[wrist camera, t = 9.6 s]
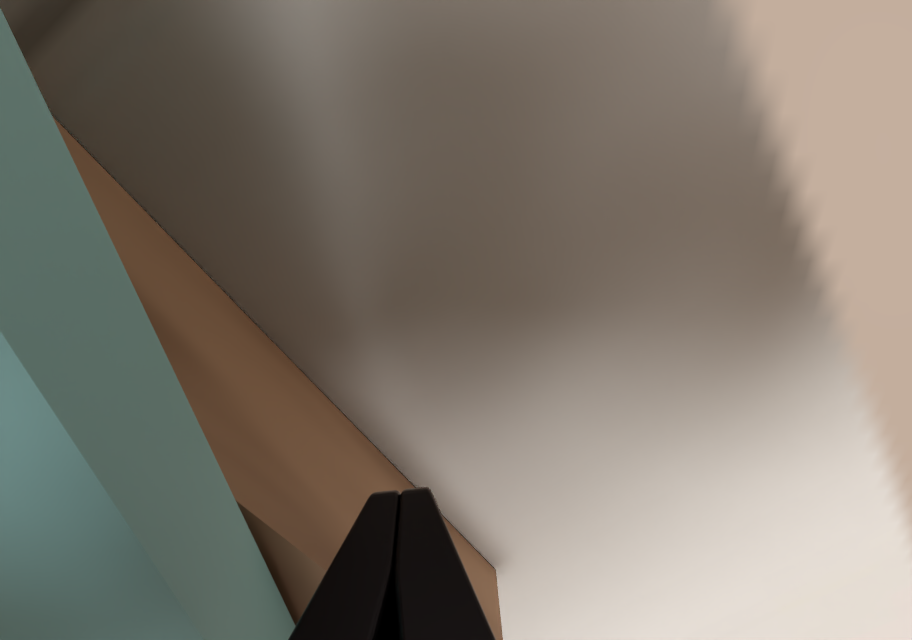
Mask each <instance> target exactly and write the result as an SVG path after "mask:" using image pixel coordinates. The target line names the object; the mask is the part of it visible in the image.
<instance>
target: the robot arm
mask: <svg viewBox="0 0 912 640" xmlns="http://www.w3.org/2000/svg"><path fill="white" fill-rule="evenodd" d="M288 640H496V638H495V636H494V634H493V631H492V629H491V627H490V625H489V622H488V620H487V618H486V615H485V613H484V611H483V608H482V606H481V604H480V602H479V599H478V597H477V595H476V592H475V590H474V588H473V586H472V583H471V581H470V579H469V576H468V574H467V572H466V569H465V567H464V565H463V563H462V560H461V558H460V556H459V553H458V551H457V549H456V546H455V544H454V542H453V540H452V537H451V535H450V533H449V530H448V528H447V526H446V524H445V521H444V519H443V517H442V514H441V512H440V510H439V507H438V505H437V503H436V501H435V498H434V496H433V494H432V492H431V490H430V489H429V488H427V487H421V488H410V489H405V490H403V491H402V493H400V491H398V490H390V491H380V492H374V493H372V494H371V495H370V496H369V498H368V499H367V501H366V503H365V504H364V506H363V508H362V510H361V512H360V513H359V515H358V517H357V519H356V520H355V522H354V524H353V526H352V527H351V529H350V531H349V533H348V535H347V536H346V538H345V540H344V542H343V543H342V545H341V547H340V549H339V550H338V552H337V554H336V556H335V557H334V559H333V561H332V563H331V565H330V566H329V568H328V570H327V572H326V573H325V575H324V577H323V579H322V580H321V582H320V584H319V586H318V588H317V589H316V591H315V593H314V595H313V596H312V598H311V600H310V602H309V603H308V605H307V607H306V609H305V610H304V612H303V614H302V616H301V618H300V619H299V621H298V623H297V625H296V626H295V628H294V630H293V632H292V633H291V635H290V637H289V639H288Z"/></svg>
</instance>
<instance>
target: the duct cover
mask: <svg viewBox="0 0 912 640" xmlns="http://www.w3.org/2000/svg"><path fill="white" fill-rule="evenodd" d="M294 628H295V624H294V622H293V620H292V618H291V615H290V613H289V611H288V609H287V607H286V605H285V603H284V601H283V599H282V597H281V594H280V592H279V590H278V588H277V586H276V584H275V582H274V580H273V578H272V576H271V574H270V571H269V569H268V567H267V565H266V563H265V561H264V559H263V557H262V555H261V553H260V551H259V548H258V546H257V544H256V542H255V540H254V538H253V536H252V534H251V532H250V530H249V527H248V525H247V523H246V521H245V519H244V517H243V515H242V513H241V511H240V509H239V507H238V504H237V502H236V500H235V498H234V496H233V494H232V492H231V490H230V488H229V486H228V483H227V481H226V479H225V477H224V475H223V473H222V471H221V469H220V467H219V465H218V463H217V460H216V458H215V456H214V454H213V452H212V450H211V448H210V446H209V444H208V442H207V439H206V437H205V435H204V433H203V431H202V429H201V427H200V425H199V423H198V421H197V419H196V416H195V414H194V412H193V410H192V408H191V406H190V404H189V402H188V400H187V398H186V395H185V393H184V391H183V389H182V387H181V385H180V383H179V381H178V379H177V377H176V375H175V372H174V370H173V368H172V366H171V364H170V362H169V360H168V358H167V356H166V354H165V352H164V349H163V347H162V345H161V343H160V341H159V339H158V337H157V335H156V333H155V331H154V328H153V326H152V324H151V322H150V320H149V318H148V316H147V314H146V312H145V310H144V308H143V305H142V303H141V301H140V299H139V297H138V295H137V293H136V291H135V289H134V287H133V284H132V282H131V280H130V278H129V276H128V274H127V272H126V270H125V268H124V266H123V264H122V261H121V259H120V257H119V255H118V253H117V251H116V249H115V247H114V245H113V243H112V240H111V238H110V236H109V234H108V232H107V230H106V228H105V226H104V224H103V222H102V220H101V217H100V215H99V213H98V211H97V209H96V207H95V205H94V203H93V201H92V199H91V196H90V194H89V192H88V190H87V188H86V186H85V184H84V182H83V180H82V178H81V176H80V173H79V171H78V169H77V167H76V165H75V163H74V161H73V159H72V157H71V155H70V153H69V150H68V148H67V146H66V144H65V142H64V140H63V138H62V136H61V134H60V132H59V129H58V127H57V125H56V123H55V121H54V119H53V117H52V115H51V113H50V111H49V109H48V106H47V104H46V102H45V100H44V98H43V96H42V94H41V92H40V90H39V88H38V85H37V83H36V81H35V79H34V77H33V75H32V73H31V71H30V69H29V67H28V65H27V62H26V60H25V58H24V56H23V54H22V52H21V50H20V48H19V46H18V44H17V41H16V39H15V37H14V35H13V33H12V31H11V29H10V27H9V25H8V23H7V21H6V18H5V16H4V14H3V12H2V10H1V8H0V640H288V639H289V637H290V635H291V633H292V632H293V630H294Z"/></svg>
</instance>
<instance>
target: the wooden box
mask: <svg viewBox="0 0 912 640" xmlns="http://www.w3.org/2000/svg"><path fill="white" fill-rule="evenodd" d="M52 117H53V116H52ZM53 119H54V121H55V123H56V125H57V127H58V129H59V132H60V134H61V136H62V138H63V140H64V142H65V144H66V146H67V148H68V150H69V153H70V155H71V157H72V159H73V161H74V163H75V165H76V167H77V169H78V171H79V173H80V176H81V178H82V180H83V182H84V184H85V186H86V188H87V190H88V192H89V194H90V196H91V199H92V201H93V203H94V205H95V207H96V209H97V211H98V213H99V215H100V217H101V220H102V222H103V224H104V226H105V228H106V230H107V232H108V234H109V236H110V238H111V240H112V243H113V245H114V247H115V249H116V251H117V253H118V255H119V257H120V259H121V261H122V264H123V266H124V268H125V270H126V272H127V274H128V276H129V278H130V280H131V282H132V284H133V287H134V289H135V291H136V293H137V295H138V297H139V299H140V301H141V303H142V305H143V308H144V310H145V312H146V314H147V316H148V318H149V320H150V322H151V324H152V326H153V328H154V331H155V333H156V335H157V337H158V339H159V341H160V343H161V345H162V347H163V349H164V352H165V354H166V356H167V358H168V360H169V362H170V364H171V366H172V368H173V370H174V372H175V375H176V377H177V379H178V381H179V383H180V385H181V387H182V389H183V391H184V393H185V395H186V398H187V400H188V402H189V404H190V406H191V408H192V410H193V412H194V414H195V416H196V419H197V421H198V423H199V425H200V427H201V429H202V431H203V433H204V435H205V437H206V439H207V442H208V444H209V446H210V448H211V450H212V452H213V454H214V456H215V458H216V460H217V463H218V465H219V467H220V469H221V471H222V473H223V475H224V477H225V479H226V481H227V483H228V486H229V488H230V490H231V492H232V494H233V496H234V498H235V500H236V502H237V504H238V507H239V509H240V511H241V513H242V515H243V517H244V519H245V521H246V523H247V525H248V527H249V530H250V532H251V534H252V536H253V538H254V540H255V542H256V544H257V546H258V548H259V551H260V553H261V555H262V557H263V559H264V561H265V563H266V565H267V567H268V569H269V571H270V574H271V576H272V578H273V580H274V582H275V584H276V586H277V588H278V590H279V592H280V594H281V597H282V599H283V601H284V603H285V605H286V607H287V609H288V611H289V613H290V615H291V618H292V620H293V622H294V624H295V626H296V625H297V623H298V621H299V619H300V618H301V616H302V614H303V612H304V610H305V609H306V607H307V605H308V603H309V602H310V600H311V598H312V596H313V595H314V593H315V591H316V589H317V588H318V586H319V584H320V582H321V580H322V579H323V577H324V575H325V573H326V572H327V570H328V568H329V566H330V565H331V563H332V561H333V559H334V557H335V556H336V554H337V552H338V550H339V549H340V547H341V545H342V543H343V542H344V540H345V538H346V536H347V535H348V533H349V531H350V529H351V527H352V526H353V524H354V522H355V520H356V519H357V517H358V515H359V513H360V512H361V510H362V508H363V506H364V504H365V503H366V501H367V499H368V498H369V496H370V495H371V494H372V493H374V492H380V491H390V490H398V491H400V493H402V491H403V490H405V489H410V488H415V487H414V486H413V485H412V484H411V483H410V482H409V481H408V480H407V479H406V478H405V477H404V476H403V475H402V474H401V473H400V472H399V471H398V470H397V469H396V468H395V467H394V466H393V465H392V464H391V463H390V462H389V461H388V460H387V458H386V457H385V456H384V455H383V454H382V453H381V452H380V451H379V450H378V449H377V448H376V447H375V446H374V445H373V444H372V443H371V442H370V441H369V440H368V439H367V438H366V437H365V436H364V435H363V434H362V433H361V432H360V431H359V430H358V429H357V428H356V427H355V426H354V425H353V424H352V423H351V422H350V421H349V420H348V419H347V418H346V416H345V415H344V414H343V413H342V412H341V411H340V410H339V409H338V408H337V407H336V406H335V405H334V404H333V403H332V402H331V401H330V400H329V399H328V398H327V397H326V396H325V395H324V394H323V393H322V392H321V391H320V390H319V389H318V388H317V387H316V386H315V385H314V384H313V383H312V382H311V381H310V380H309V379H308V378H307V377H306V375H305V374H304V373H303V372H302V371H301V370H300V369H299V368H298V367H297V366H296V365H295V364H294V363H293V362H292V361H291V360H290V359H289V358H288V357H287V356H286V355H285V354H284V353H283V352H282V351H281V350H280V349H279V348H278V347H277V346H276V345H275V344H274V343H273V342H272V341H271V340H270V339H269V338H268V337H267V336H266V334H265V333H264V332H263V331H262V330H261V329H260V328H259V327H258V326H257V325H256V324H255V323H254V322H253V321H252V320H251V319H250V318H249V317H248V316H247V315H246V314H245V313H244V312H243V311H242V310H241V309H240V308H239V307H238V306H237V305H236V304H235V303H234V302H233V301H232V300H231V299H230V298H229V297H228V296H227V295H226V294H225V292H224V291H223V290H222V289H221V288H220V287H219V286H218V285H217V284H216V283H215V282H214V281H213V280H212V279H211V278H210V277H209V276H208V275H207V274H206V273H205V272H204V271H203V270H202V269H201V268H200V267H199V266H198V265H197V264H196V263H195V262H194V261H193V260H192V259H191V258H190V257H189V256H188V255H187V254H186V253H185V251H184V250H183V249H182V248H181V247H180V246H179V245H178V244H177V243H176V242H175V241H174V240H173V239H172V238H171V237H170V236H169V235H168V234H167V233H166V232H165V231H164V230H163V229H162V228H161V227H160V226H159V225H158V224H157V223H156V222H155V221H154V220H153V219H152V218H151V217H150V216H149V215H148V214H147V213H146V212H145V210H144V209H143V208H142V207H141V206H140V205H139V204H138V203H137V202H136V201H135V200H134V199H133V198H132V197H131V196H130V195H129V194H128V193H127V192H126V191H125V190H124V189H123V188H122V187H121V186H120V185H119V184H118V183H117V182H116V181H115V180H114V179H113V178H112V177H111V176H110V175H109V174H108V173H107V172H106V171H105V170H104V168H103V167H102V166H101V165H100V164H99V163H98V162H97V161H96V160H95V159H94V158H93V157H92V156H91V155H90V154H89V153H88V152H87V151H86V150H85V149H84V148H83V147H82V146H81V145H80V144H79V143H78V142H77V141H76V140H75V139H74V138H73V137H72V136H71V135H70V134H69V133H68V132H67V131H66V130H65V129H64V127H63V126H62V125H61V124H60V123H59V122H58V121H57V120H56V119H55V118H54V117H53ZM442 517H443V516H442ZM443 519H444V521H445V524H446V526H447V528H448V530H449V533H450V535H451V537H452V540H453V542H454V544H455V546H456V549H457V551H458V553H459V556H460V558H461V560H462V563H463V565H464V567H465V569H466V572H467V574H468V576H469V579H470V581H471V583H472V586H473V588H474V590H475V592H476V595H477V597H478V599H479V602H480V604H481V606H482V608H483V611H484V613H485V615H486V618H487V620H488V622H489V625H490V627H491V629H492V631H493V634H494V636H495V638H496V640H503V637H502V627H501V617H500V608H499V598H498V588H497V578H496V570H495V569H494V568H493V567H492V566H491V565H490V564H489V563H488V562H487V561H486V560H485V559H484V558H483V557H482V556H481V555H480V554H479V553H478V552H477V551H476V550H475V549H474V548H473V547H472V546H471V545H470V544H469V543H468V542H467V540H466V539H465V538H464V537H463V536H462V535H461V534H460V533H459V532H458V531H457V530H456V529H455V528H454V527H453V526H452V525H451V524H450V523H449V522H448V521H447V520H446V519H445V518H444V517H443Z"/></svg>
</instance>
